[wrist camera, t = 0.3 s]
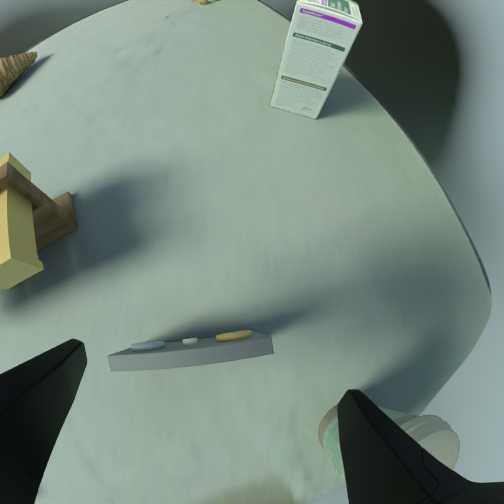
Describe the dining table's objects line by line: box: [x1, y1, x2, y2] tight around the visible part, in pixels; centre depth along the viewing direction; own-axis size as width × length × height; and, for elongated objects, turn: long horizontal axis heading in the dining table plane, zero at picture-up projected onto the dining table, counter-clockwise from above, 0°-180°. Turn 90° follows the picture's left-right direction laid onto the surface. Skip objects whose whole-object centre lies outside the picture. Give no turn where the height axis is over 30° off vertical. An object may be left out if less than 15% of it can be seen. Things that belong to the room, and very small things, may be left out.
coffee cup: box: [318, 405, 460, 488], centre depth 15 cm, size 8×8×12 cm
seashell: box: [0, 52, 37, 96], centre depth 21 cm, size 14×8×8 cm, turn 136°
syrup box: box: [270, 0, 362, 119], centre depth 22 cm, size 6×6×14 cm
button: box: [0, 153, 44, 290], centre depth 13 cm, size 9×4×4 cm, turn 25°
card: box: [108, 330, 274, 371], centre depth 18 cm, size 1×10×7 cm, turn 100°
